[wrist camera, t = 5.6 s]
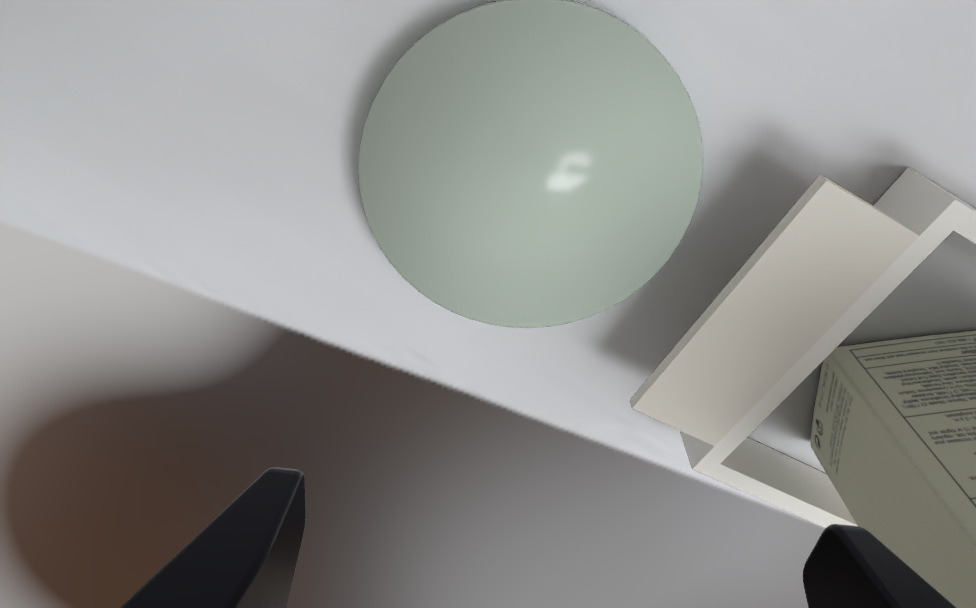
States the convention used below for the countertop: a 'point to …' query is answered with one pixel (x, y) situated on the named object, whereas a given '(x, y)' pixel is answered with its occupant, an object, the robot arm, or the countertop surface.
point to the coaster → (530, 163)
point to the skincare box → (906, 450)
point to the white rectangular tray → (793, 330)
